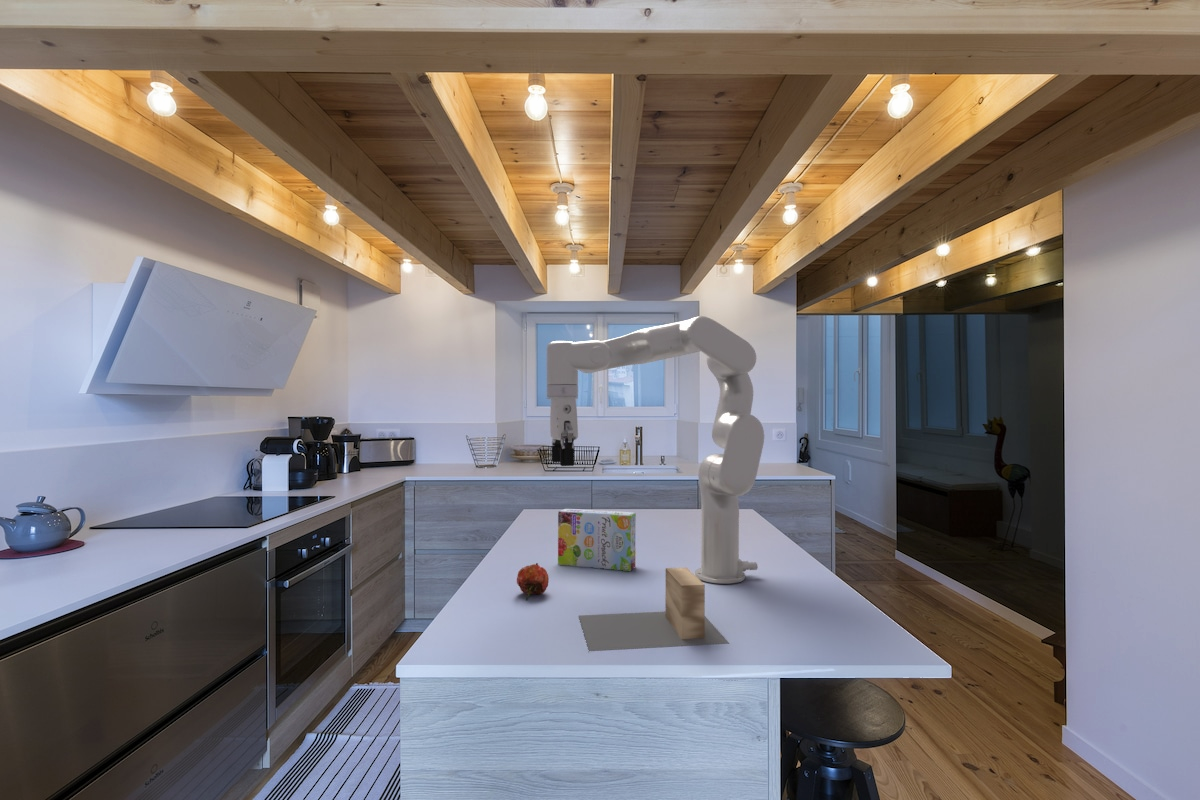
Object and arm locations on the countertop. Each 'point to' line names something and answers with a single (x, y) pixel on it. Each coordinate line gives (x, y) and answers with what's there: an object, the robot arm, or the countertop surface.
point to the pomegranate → (532, 579)
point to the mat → (639, 632)
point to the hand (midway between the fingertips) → (562, 463)
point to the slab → (685, 603)
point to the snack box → (597, 539)
